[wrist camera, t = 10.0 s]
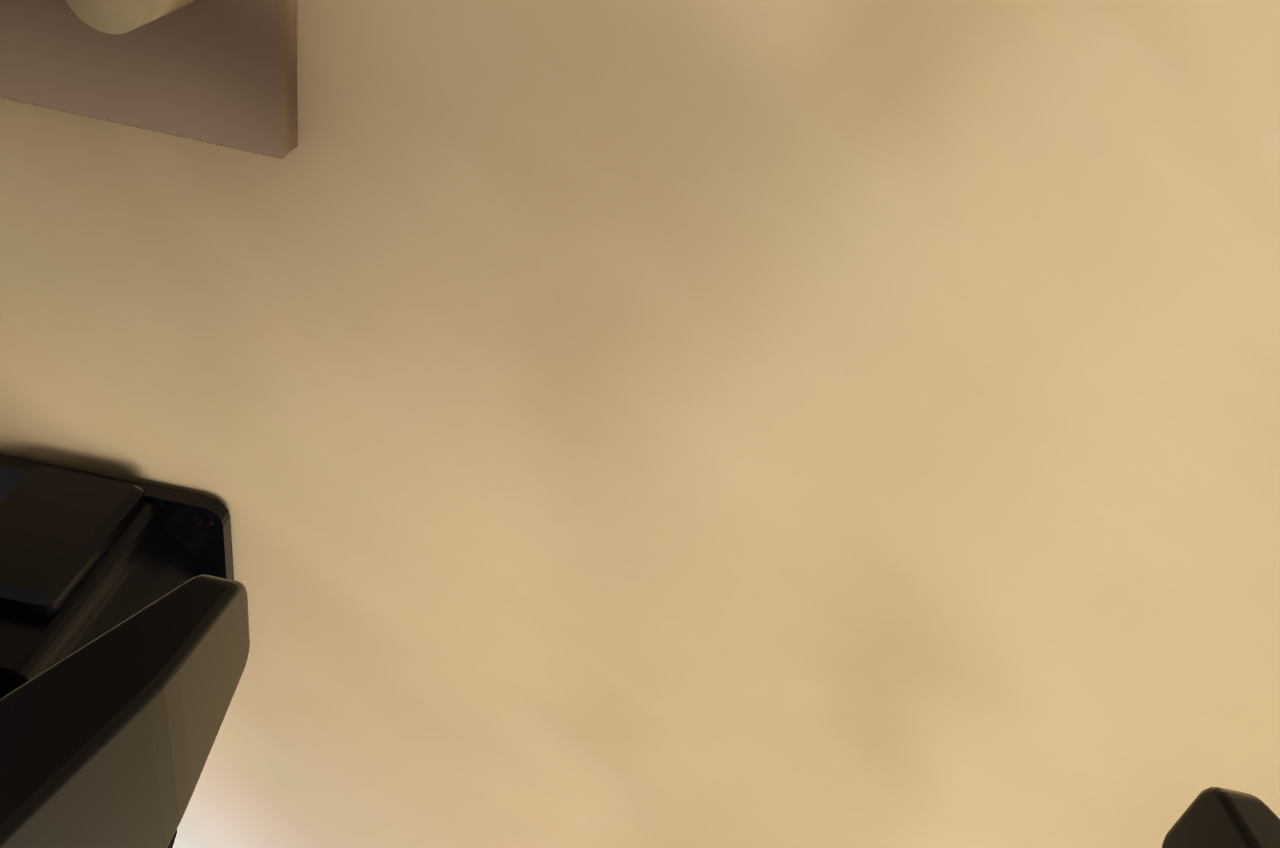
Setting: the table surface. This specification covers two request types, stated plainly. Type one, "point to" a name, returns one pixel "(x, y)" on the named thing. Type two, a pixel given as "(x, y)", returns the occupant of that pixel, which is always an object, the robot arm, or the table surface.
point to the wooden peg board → (160, 65)
